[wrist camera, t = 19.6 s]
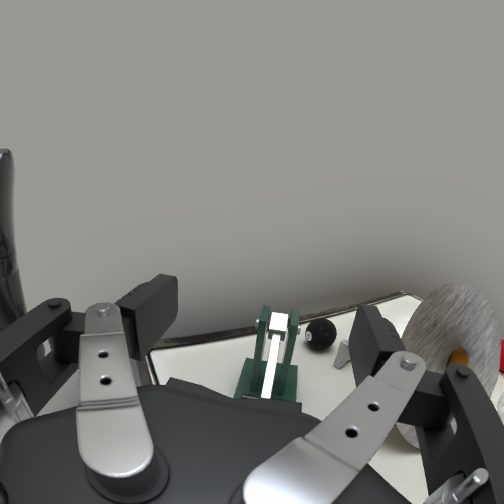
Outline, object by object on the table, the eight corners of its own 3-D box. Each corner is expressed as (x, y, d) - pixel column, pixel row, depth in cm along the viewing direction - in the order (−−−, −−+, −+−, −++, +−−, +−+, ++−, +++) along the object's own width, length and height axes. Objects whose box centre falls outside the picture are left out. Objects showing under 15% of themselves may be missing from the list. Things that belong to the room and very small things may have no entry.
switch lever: (286, 412, 29) (289, 406, 27) (239, 405, 30) (239, 398, 28) (297, 326, 39) (300, 316, 37) (259, 320, 39) (260, 310, 38)
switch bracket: (293, 420, 34) (315, 344, 31) (230, 410, 36) (236, 333, 32) (296, 370, 46) (312, 300, 42) (245, 362, 47) (253, 292, 43)
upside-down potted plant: (457, 415, 38) (446, 304, 49) (516, 416, 22) (500, 274, 33) (350, 451, 38) (341, 319, 48) (396, 479, 22) (384, 290, 32)
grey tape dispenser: (333, 366, 47) (361, 346, 54) (339, 369, 46) (366, 349, 53) (340, 340, 46) (368, 323, 52) (347, 344, 45) (374, 326, 51)
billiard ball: (338, 351, 52) (345, 325, 50) (313, 357, 50) (319, 330, 48) (322, 336, 57) (328, 311, 56) (297, 340, 55) (303, 315, 53)
